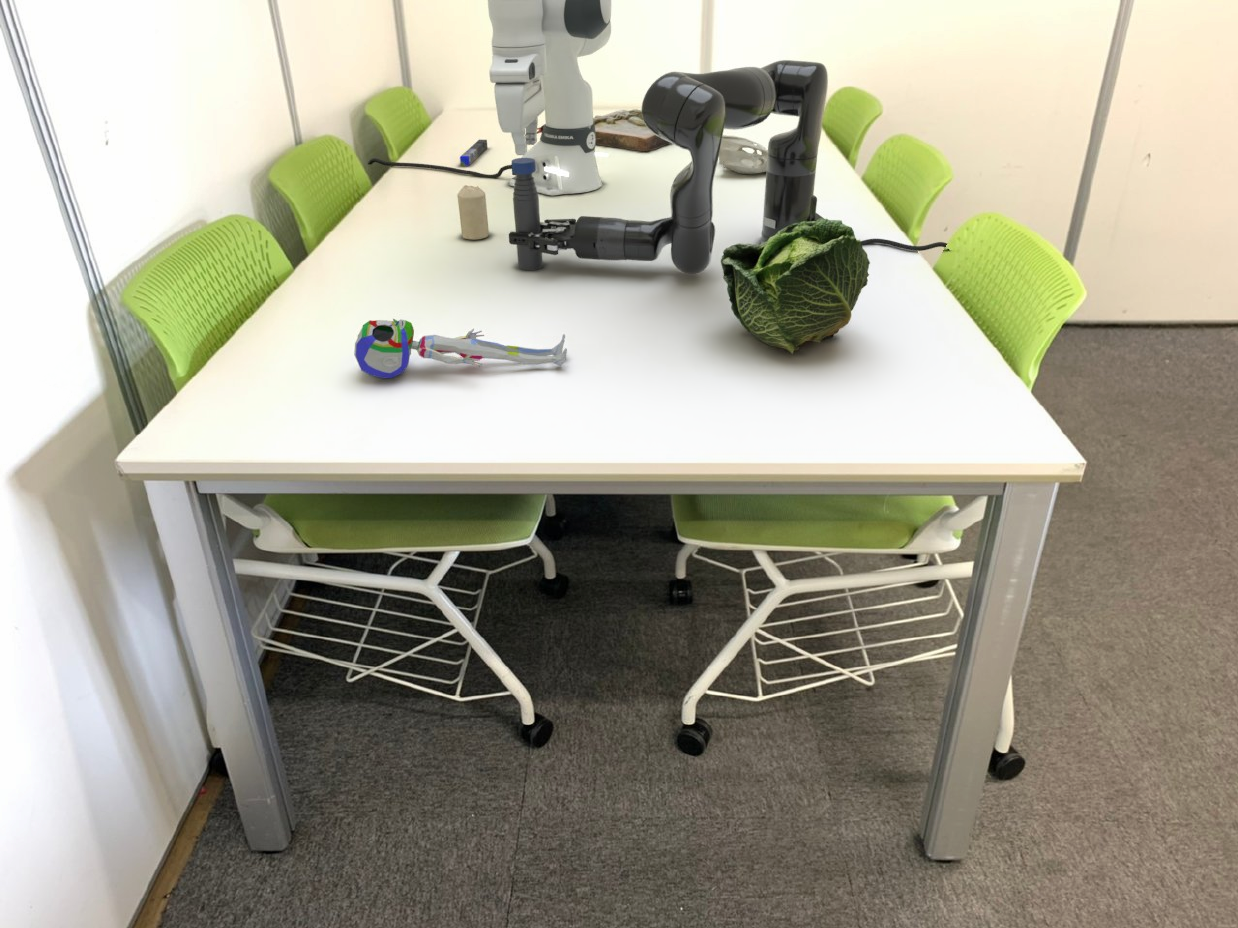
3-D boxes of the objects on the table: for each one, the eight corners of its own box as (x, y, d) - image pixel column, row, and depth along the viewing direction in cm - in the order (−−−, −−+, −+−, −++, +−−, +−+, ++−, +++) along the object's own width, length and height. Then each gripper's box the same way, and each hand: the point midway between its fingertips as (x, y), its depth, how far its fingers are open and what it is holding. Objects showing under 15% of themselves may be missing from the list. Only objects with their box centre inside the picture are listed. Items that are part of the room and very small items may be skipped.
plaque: (647, 125, 237) (559, 112, 252) (647, 153, 241) (560, 139, 256) (706, 107, 258) (622, 97, 273) (705, 133, 262) (622, 121, 277)
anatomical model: (705, 127, 227) (805, 126, 223) (705, 164, 232) (803, 164, 228) (701, 141, 214) (807, 140, 211) (701, 180, 219) (804, 180, 216)
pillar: (486, 139, 247) (467, 157, 231) (487, 147, 249) (468, 166, 232) (479, 139, 248) (459, 157, 231) (479, 147, 249) (460, 166, 232)
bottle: (513, 266, 168) (504, 163, 158) (530, 260, 171) (523, 158, 161) (530, 272, 166) (523, 167, 156) (547, 265, 169) (541, 162, 159)
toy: (569, 347, 126) (349, 329, 122) (563, 400, 131) (350, 385, 126) (565, 318, 135) (359, 301, 130) (559, 369, 139) (360, 354, 134)
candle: (493, 232, 185) (489, 183, 180) (481, 241, 181) (476, 191, 175) (469, 230, 187) (464, 181, 181) (457, 238, 182) (451, 189, 177)
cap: (507, 172, 159) (506, 161, 158) (524, 167, 162) (523, 156, 161) (523, 175, 157) (522, 164, 156) (540, 170, 159) (540, 160, 158)
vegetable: (752, 365, 147) (694, 260, 139) (847, 299, 148) (795, 192, 140) (808, 391, 128) (745, 272, 121) (916, 316, 130) (860, 193, 122)
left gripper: (515, 55, 159) (522, 136, 166) (486, 73, 142) (494, 163, 149) (550, 54, 158) (555, 136, 165) (525, 72, 141) (532, 163, 148)
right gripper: (612, 206, 166) (524, 202, 170) (593, 230, 155) (499, 225, 158) (613, 246, 170) (527, 241, 174) (594, 272, 159) (503, 266, 162)
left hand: (526, 149), depth 157 cm, fingers open, 6 cm apart
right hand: (514, 233), depth 166 cm, fingers closed on bottle, 4 cm apart
